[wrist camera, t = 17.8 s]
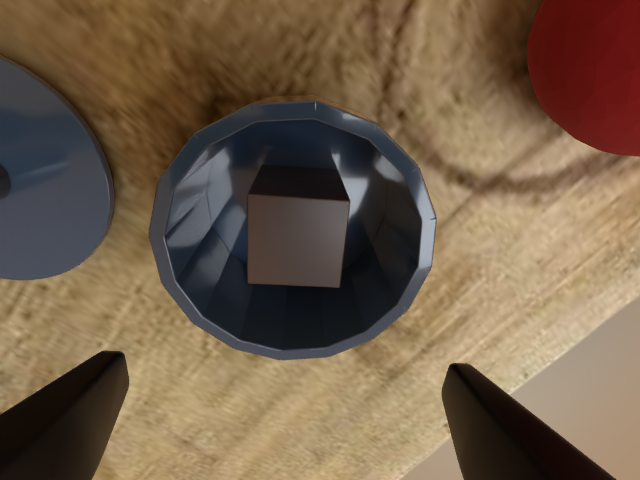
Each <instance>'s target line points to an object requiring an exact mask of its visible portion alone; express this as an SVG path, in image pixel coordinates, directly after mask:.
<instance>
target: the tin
mask: <svg viewBox="0 0 640 480" xmlns="http://www.w3.org/2000/svg"><path fill="white" fill-rule="evenodd" d="M262 165H273V166H287V167H300V168H314V169H327V170H338V171H339V174H340V176H341V179H342V181H343V184H344V186H345V189H346V191H347V194H348V196H349V199H350V201H351V203H350V211H349V219H348V227H347V235H346V243H345V251H344V259H343V267H342V274H341V282H340V287H339V288H332V287H312V286H291V285H270V284H250V283H247V194H248V192H249V190H250V188H251V186H252V184H253V182H254V180H255V178H256V176H257V174H258V172H259V170H260V168H261V166H262ZM436 220H437V219H436V214H435V211H434V208H433V205H432V203H431V200H430V197H429V194H428V191H427V188H426V185H425V182H424V179H423V176H422V174H421V171H420V168H419V167H418V165H417V164H416V163H415V162H414V161H413V160H412V159H411V157H410V156H409V155H408V154H407V153H406V152H405V151H404V150H403V149H402V148H401V147H400V146H399V145H398V144H397V143H396V142H395V141H394V140H393V139H392V138H391V137H390V136H389V135H388V134H387V133H386V132H385V131H384V130H383V129H382V128H381V127H380V126H379V125H378V124H376V123H375V122H373V121H371V120H370V119H368V118H366V117H364V116H362V115H361V114H359V113H357V112H355V111H353V110H351V109H348V108H346V107H343V106H341V105H338V104H336V103H333V102H330V101H328V100H325V99H323V98H320V97H318V96H315V95H289V96H272V97H266V98H263V99H261V100H258V101H256V102H253V103H250V104H248V105H246V106H244V107H242V108H240V109H238V110H237V111H235V112H233V113H231V114H229V115H227V116H225V117H223V118H221V119H219V120H217V121H215V122H213V123H212V124H210V125H208V126H206V127H204V128H202V129H200V130H198V131H196V132H195V133H194V134H192V136H191V137H190V138H189V140H188V141H187V142H186V144H185V145H184V146H183V148H182V149H181V150H180V152H179V153H178V154H177V156H176V157H175V158H174V160H173V161H172V162H171V164H170V165H169V166H168V168H167V169H166V170H165V172H164V173H163V174H162V176H161V177H160V178H159V181H158V183H157V189H156V194H155V200H154V205H153V211H152V216H151V222H150V228H149V239H150V242H151V246H152V250H153V253H154V257H155V261H156V264H157V268H158V272H159V275H160V279H161V283H162V284H163V286H164V287H165V289H166V290H167V291H168V293H169V294H170V295H171V296H172V298H173V299H174V300H175V301H176V303H177V304H178V305H179V307H180V308H181V309H182V310H183V312H184V313H185V314H186V316H187V317H188V318H189V319H190V321H191V322H192V323H193V324H194V325H196V326H198V327H199V328H201V329H203V330H204V331H206V332H207V333H209V334H211V335H212V336H214V337H215V338H217V339H219V340H220V341H222V342H223V343H225V344H227V345H228V346H230V347H231V348H235V349H236V350H240V351H244V352H248V353H252V354H256V355H261V356H265V357H269V358H273V359H277V360H295V359H310V358H325V357H330V356H333V355H335V354H338V353H341V352H343V351H346V350H348V349H351V348H353V347H356V346H358V345H361V344H364V343H366V342H369V341H371V340H373V339H374V338H375V337H377V336H378V335H379V334H380V333H381V332H383V331H384V330H385V329H386V328H387V327H388V326H390V325H391V324H392V323H393V322H394V321H396V320H397V319H398V318H399V317H400V316H402V315H403V314H404V313H405V312H406V311H407V310H408V309H409V308H410V306H411V304H412V302H413V300H414V299H415V297H416V295H417V293H418V291H419V290H420V288H421V286H422V284H423V282H424V281H425V279H426V277H427V275H428V273H429V272H430V270H431V267H432V260H433V250H434V240H435V230H436Z"/></svg>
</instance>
